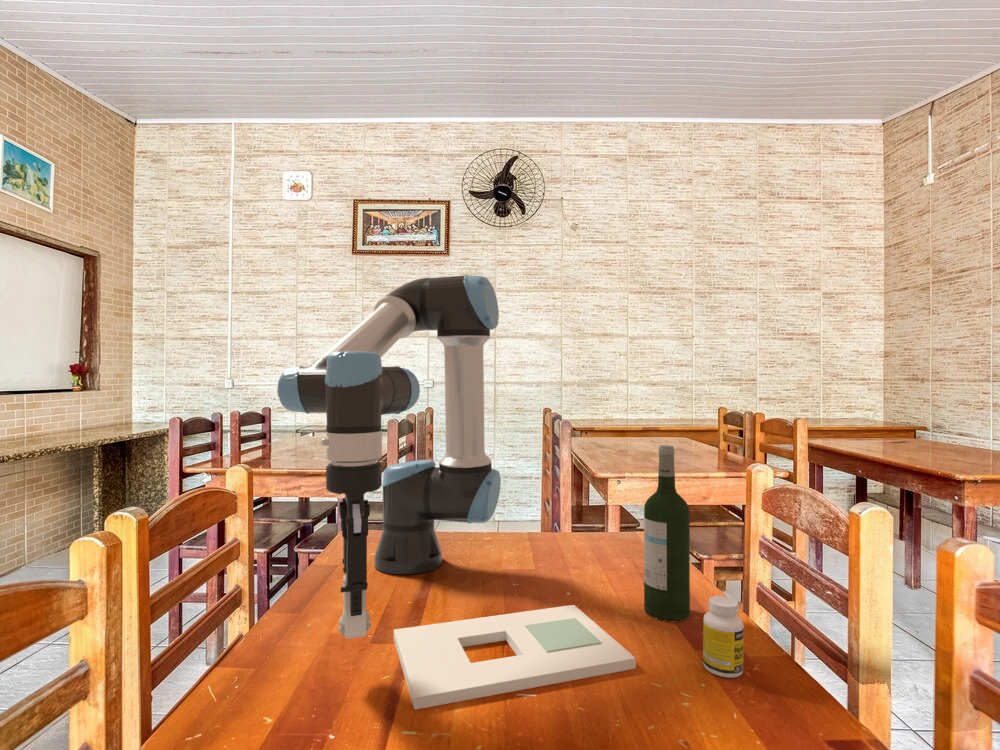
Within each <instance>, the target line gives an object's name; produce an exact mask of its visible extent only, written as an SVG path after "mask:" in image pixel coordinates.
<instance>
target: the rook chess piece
mask: <svg viewBox="0 0 1000 750" xmlns="http://www.w3.org/2000/svg"><path fill="white" fill-rule="evenodd" d="M344 575H345V578H344V579H342V584H343V583H344V585H346V574H344ZM344 593H345V592H344ZM370 621H371V615H370V613H369V612H368V609H366V633H367V632H369V630H370V629H371V627H372V626H371V625H372V623H371V622H370ZM338 624H339V626H338V632H339V633H340V634H341V635H342V636H344V637H345V608H344V612H343V611H342V613H341V616H340V618H339V619H338Z"/></svg>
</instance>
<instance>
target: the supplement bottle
mask: <svg viewBox="0 0 1000 750" xmlns="http://www.w3.org/2000/svg"><path fill="white" fill-rule="evenodd" d="M708 610H709V611H706V612H705V614H704V615H703V625H702V627H703V633H702V634H703V635H702V637H703V638H702V639H703V640H702V664H703V667H704V668H705V669H706V671H708V672H709V673H711V674H713V675H715V676H718V677H721V678H728V679H732V678H733V679H734V678H739V677H740V676H742V675H743V672H744V649H745V648H744V647H745V645H744V635H745V634H744V633H745V631H744V628H745V627H744V622H743V619H742V618H741V617H740V616H738V614H739V611H740V610H739V602H738V601H737V600H736V599H734V598H732V597H728V596H722V595H714V596H713V595H712V596H710V597H709V598H708Z"/></svg>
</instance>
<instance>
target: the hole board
mask: <svg viewBox="0 0 1000 750" xmlns="http://www.w3.org/2000/svg"><path fill="white" fill-rule="evenodd" d="M504 641H506V643H507V644H508V645H509V647H510V648H511V649H512V650H513V652H514V654H515V655H512V656H506V657H501V658H500V657H499V658H494V659H488V660H483V661H481V660H480V661H476V662H471V661H470V659H469V657H468V656H467V655H468V654H466V651H465V650H464V648H465V647H472V646H477V645H485V644H491V643H497V642H504ZM393 642H394V645H395V648H396V653H397V654H398V658H399V662H400V665H401V668H402V672H403V676H404V680H405V683H406V685H407V690H408V693H409V696H410V699H411V703H412V707H413V709H414V711H417V710H420V709H426V708H431V707H435V706H436V707H437V706H443V705H447V704H448V705H449V704H452V703H457V702H458V703H460V702H464V701H468V700H469V701H470V700H474V699H475V700H476V699H479V698H484V697H491V696H495V695H500V694H506V693H511V692H518V691H523V690H528V689H533V688H534V689H535V688H538V687H543V686H544V687H545V686H549V685H554V684H555V685H556V684H560V683H566V682H571V681H576V680H581V679H582V680H583V679H586V678H593V677H598V676H603V675H604V676H605V675H608V674H615V673H618V672H625V671H629V670H630V671H631V670H635V669H637V666H636V664H637V661H636V660H637V659H636V657H635V656H634V655H632V653H631V652H629V651H628V650H627V649H626V648H625V647H623V645H621V643H619V642H618V641H616V640H615V639H614V638H613V637H612V636H611V635H609V634H608V632H606V631H605V630H604V629H602V627H601V626H599V625H598V624H597V623H596V622H595V621H594V620H592V619H591V618H590V617H588V616H587V615H586V614H585V613H584V612H583V611H582V610H581V609H579V608H578V607H577V606H576V605H574V604H570V605H569V604H568V605H561V606H556V607H548V608H541V609H536V610H535V609H533V610H526V611H518V612H512V613H506V614H503V613H502V614H498V615H497V614H496V615H490V616H484V617H481V616H480V617H475V618H469V619H468V618H467V619H460V620H454V621H447V622H438V623H432V624H431V623H430V624H425V625H418V626H410V627H409V626H408V627H403V628H396V629H393Z"/></svg>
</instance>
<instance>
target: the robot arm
mask: <svg viewBox="0 0 1000 750" xmlns="http://www.w3.org/2000/svg"><path fill="white" fill-rule="evenodd" d="M497 299H498V298H497V295H496V291H495V288H494V286H493V284H492V283H491V281H490V280H489V279H488V278H487V277H485V276H484V275H468V274H465V275H454V276H442V277H441V276H439V277H438V276H437V277H422V278H417V279H414V280H411V281H409V282H407V283H403V284H402V285H401V286H398V287H397V288H394V289H393V290H391V291H390V292H389V293H387V294H386V295H384V296H383V297H382V298H381V299H380V300H379V301H377V302H376V304H375V306H374V308H373V312H371V313H370V314H369V315H368V316H366V318H364V319H363V320H362V321H361V322H360V323H358V324H357V326H355V327H353V328H352V329H351V330H350V331H349V332H348V333H347V334H346V335H344V336H343V337H342V338H340V340H338V341H337V342H336V343H334V345H332V346H331V348H329V349H328V350H327V351H326V352H325V353H323V354H322V355H321V356H319V358H317V359H316V360H315V361H313V362H312V363H311V364H310V365H308V366H303V365H300V366H297V367H295V366H294V367H289V368H287V369H285V370H284V371H283V372H282V373H281V374H280V376H279V379H278V382H277V396H278V398H279V402H280V404H281V406H282V407H283V408H284V409H286V410H287V411H288V412H289V411H290V412H292V413H293V412H294V413H295V412H296V413H304V414H326V425H325V426H326V427H325V428H326V429H325V432H326V437H327V438H322V439H321V446H324V447H325V446H327V447H326V460H327V461H329V462H330V463H328V464H327V466H326V467H325V488H326V490H327V491H328V492H329V493H331V494H336V495H342V494H344V497H343V498H342V499H341V501H339V502H338V510H339V518H340V529H341V536H342V538H343V551H342V553H343V556H342V557H343V558H342V565H343V568H342V569H343V570H342V571H343V573H344V575H343V576H342V578H343V579H344V578H345V574H346V585H344V583H343V582H342V585H343V586H342V587H340V593H343V597H342V598H343V600H342V601H343V602H342V604H343V611H342V613H343V612H344V608H345V636H344V638H345V639H344V640H348V639H349V640H350V639H355V638H362V637H366V636H367V632H366V610H367V589H368V584H369V583H368V580H367V579H368V575H367V574H368V569H367V568H368V567H367V566H368V564H367V563H368V560H367V559H368V557H367V556H368V555H367V554H368V549H367V548H368V545H367V544H368V543H367V542H368V538H367V537H368V536H369V517H370V513H371V511H370V509H371V508H370V507H371V506H370V503H369V500H368V499H365V497H364V496H365V494H366V493H372V492H376V491H377V490H379V489H381V487H382V531H381V536H380V538H379V542H378V544H377V547H376V550H375V554H374V568H375V569H376V570H377V571H379V572H382V573H386V574H390V575H414V574H421V573H427V572H429V571H433V570H435V569H437V568H438V567H440V566H441V564H442V563H443V562H442V560H443V558H442V554H443V553H442V549H441V545H440V543H439V540H438V537H437V534H436V530H435V521H443V522H444V521H445V522H454V523H455V522H457V523H459V522H460V523H467V524H473V523H474V524H483V523H484V524H485V523H487V522H489V521H490V519H492V517H493V516H494V513H495V511H496V509H497V505H498V504H499V503H498V502H499V498H500V497H499V496H500V493H501V483H502V482H501V481H502V479H501V475H500V471H499V470H497V469H496V468H492V467H493V466H492V459H491V458H490V457H489V456H488V455H487V454H486V451H485V448H486V447H485V446H486V445H485V389H484V388H485V384H484V383H485V382H484V380H485V378H484V377H485V376H484V375H485V374H484V369H485V367H484V346H485V344H486V343H487V342H488V341H489V340H490V338H491V331H492V330H495V329H496V328H497V327H498V324H499V318H500V314H499V313H500V312H499V305H498V300H497ZM420 331H436V332H437V333H436V337H437V339H438V340H439V342H440V343H442V345H443V348H444V349H443V350H444V352H443V353H444V408H445V411H444V412H445V413H444V415H445V416H444V417H445V418H444V419H445V454H444V456H442V458H441V459H440V460H439V461H438V464H439V466H438V467H436V463H435V460H433V459H420V460H411V461H405V462H404V461H403V462H399V463H394V464H391V465H388V466H387V467H386V468H385V469H384V472H383V474H382V466H383V465H382V463H381V461H378V460H380V459H381V458H382V457H383V430H382V416H384V415H391V414H394V415H400V413H403V412H406V411H409V410H410V409H411V408H413V407H414V406H415V405H416V403H417V402H418V400H419V398H420V394H421V393H420V392H421V387H420V383H419V380H418V378H417V376H416V374H415V373H413V371H411V370H409V369H408V368H406V367H405V368H404V367H400V366H399V365H396V366H392V365H391V366H382V365H383V364H382V357H383V356H384V355H385V354H386V353H387V352H388V351H389V350H390V349H391V348H392V347H393V346H394V345H395V344H396V343H397V342H398V341H399V340H400V339H401V340H402V339H404V338H408V337H409V336H410V335H411V334H412V333H414V332H420ZM382 475H383V479H382ZM343 579H342V580H343ZM344 592H345V593H344Z"/></svg>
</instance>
